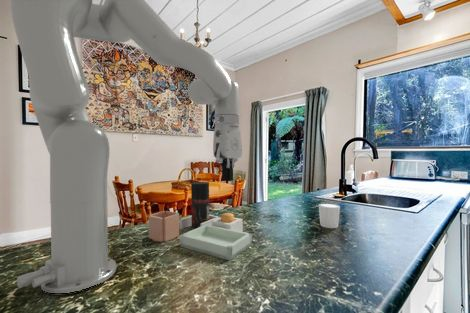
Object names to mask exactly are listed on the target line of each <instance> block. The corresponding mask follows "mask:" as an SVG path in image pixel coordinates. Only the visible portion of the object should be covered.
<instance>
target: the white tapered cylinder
mask: <svg viewBox="0 0 470 313" xmlns="http://www.w3.org/2000/svg"><path fill="white" fill-rule="evenodd" d="M318 212H319V215H318V216H319V222H320V226H321V227H323V228H326V229H337V228H339V220H340V212H341V206H340V205H338V204H335V203H319V204H318Z"/></svg>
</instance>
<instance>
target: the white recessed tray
mask: <svg viewBox="0 0 470 313" xmlns="http://www.w3.org/2000/svg"><path fill="white" fill-rule="evenodd" d="M243 221H244V220H243V218H239V217H234V221H233V222H231V223H227V222H221V216H218V215H211V214H209V220H208V221H206V222H203V223H201V224H200V227H201V226H203V225H211V226H216V227H221V228H226V229H231V230H236V231H241V232H244V231H243V230H244V228H243V227H244V225H243V224H244V223H243ZM190 226H191V227H192V215H189V216H187V217H184V218H181V219H180V218H179V230H182V229H184V228H187V227H190Z"/></svg>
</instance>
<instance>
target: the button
mask: <svg viewBox="0 0 470 313" xmlns="http://www.w3.org/2000/svg"><path fill="white" fill-rule="evenodd" d="M220 218H221V222H227V223H231V222H233V221H234V218H235V216H234V213H231V212H224V213H221V214H220Z"/></svg>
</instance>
